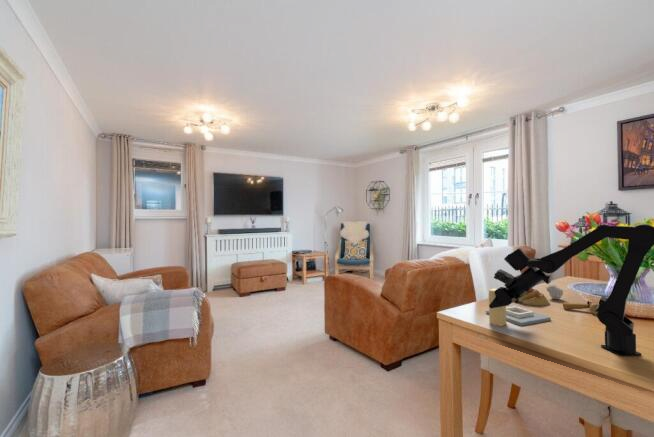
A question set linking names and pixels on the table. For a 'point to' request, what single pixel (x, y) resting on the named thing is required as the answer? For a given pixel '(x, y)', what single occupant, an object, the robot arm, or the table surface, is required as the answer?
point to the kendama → (581, 306)
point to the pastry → (533, 298)
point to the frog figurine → (554, 292)
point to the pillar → (496, 311)
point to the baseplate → (523, 316)
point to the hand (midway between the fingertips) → (494, 304)
